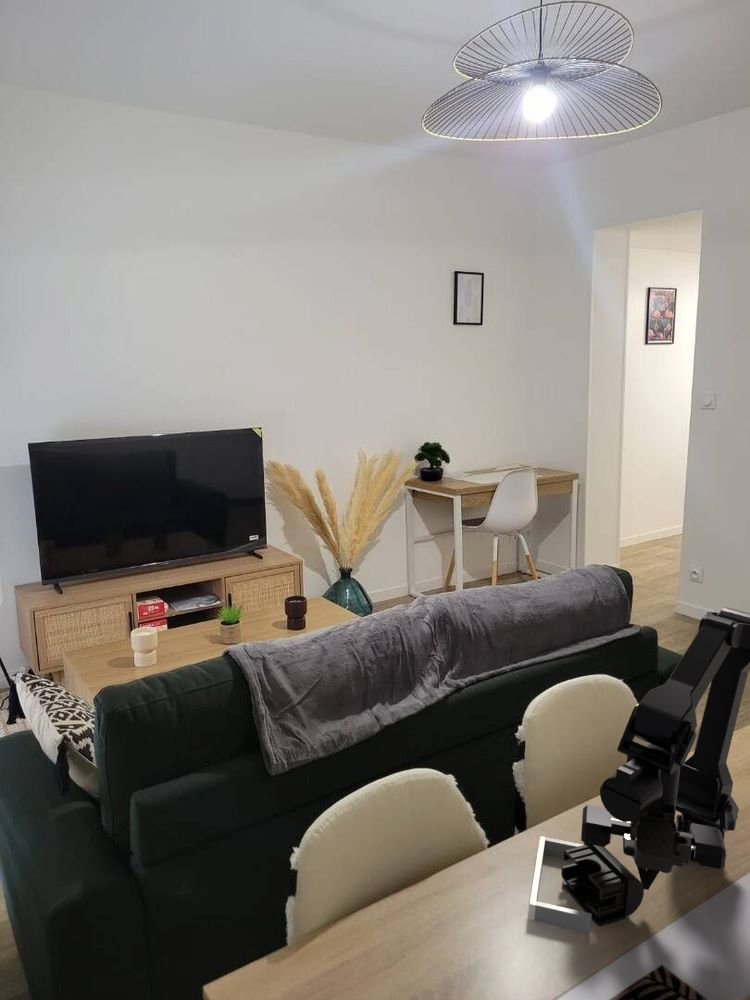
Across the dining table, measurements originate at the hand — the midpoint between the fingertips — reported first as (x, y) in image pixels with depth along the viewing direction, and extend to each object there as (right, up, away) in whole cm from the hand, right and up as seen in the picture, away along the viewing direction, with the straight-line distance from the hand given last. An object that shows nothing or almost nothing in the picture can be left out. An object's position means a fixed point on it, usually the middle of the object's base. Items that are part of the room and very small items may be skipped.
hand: (645, 887), depth 110 cm
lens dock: (-11, -2, +4) cm, 12 cm away
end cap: (-6, -3, +2) cm, 7 cm away
